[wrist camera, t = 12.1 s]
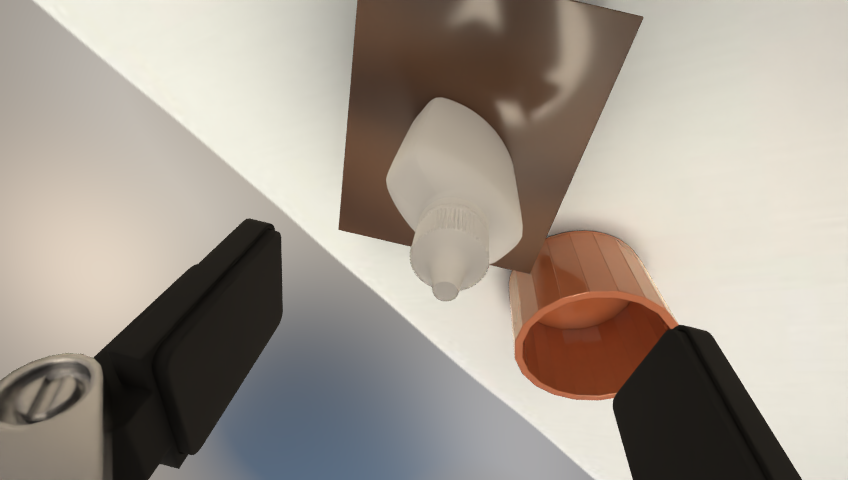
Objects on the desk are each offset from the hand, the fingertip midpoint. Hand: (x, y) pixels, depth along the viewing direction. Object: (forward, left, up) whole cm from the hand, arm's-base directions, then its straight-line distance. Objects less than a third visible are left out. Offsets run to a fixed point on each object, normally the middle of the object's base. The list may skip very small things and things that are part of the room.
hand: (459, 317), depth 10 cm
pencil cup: (+10, +11, -17) cm, 23 cm away
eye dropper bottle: (0, 0, -13) cm, 13 cm away
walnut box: (0, 0, -17) cm, 17 cm away
